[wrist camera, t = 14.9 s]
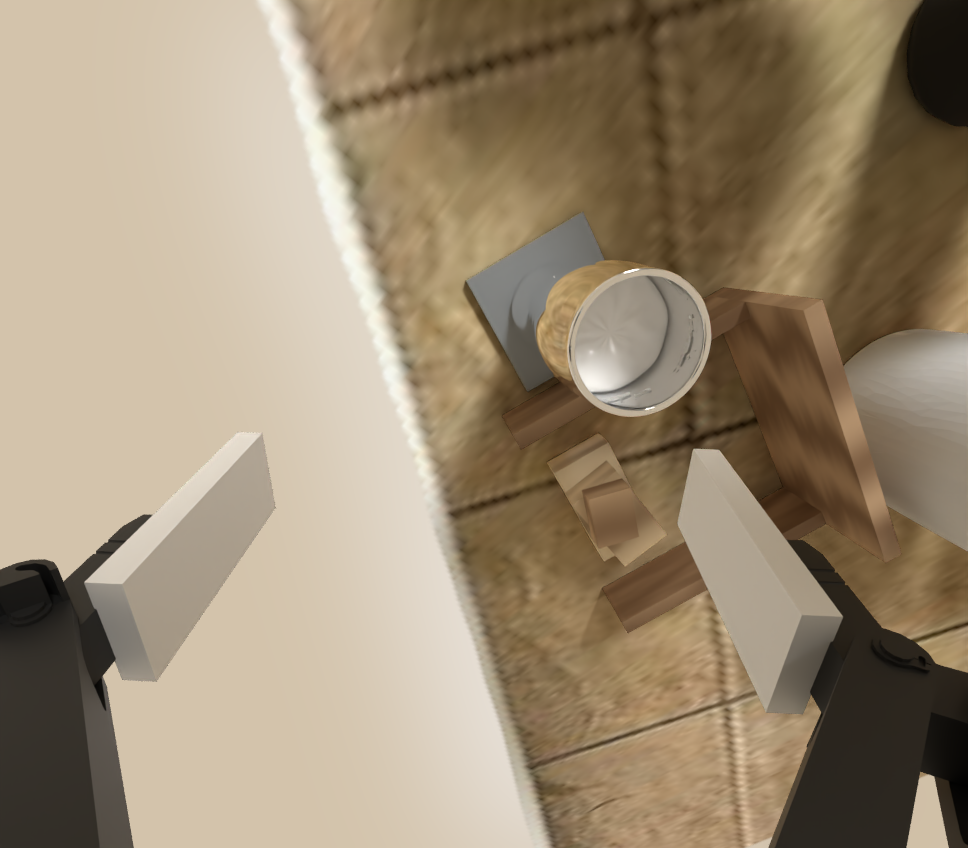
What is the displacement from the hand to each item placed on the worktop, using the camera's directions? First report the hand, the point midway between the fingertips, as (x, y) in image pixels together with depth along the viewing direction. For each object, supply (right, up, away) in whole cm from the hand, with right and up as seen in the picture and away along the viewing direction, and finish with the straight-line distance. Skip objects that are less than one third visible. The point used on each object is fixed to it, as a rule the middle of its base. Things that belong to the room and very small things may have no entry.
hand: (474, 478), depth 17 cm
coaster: (+5, +10, +21) cm, 24 cm away
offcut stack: (+9, -4, +27) cm, 28 cm away
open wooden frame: (+14, -1, +26) cm, 30 cm away
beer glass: (+5, +10, +21) cm, 24 cm away
